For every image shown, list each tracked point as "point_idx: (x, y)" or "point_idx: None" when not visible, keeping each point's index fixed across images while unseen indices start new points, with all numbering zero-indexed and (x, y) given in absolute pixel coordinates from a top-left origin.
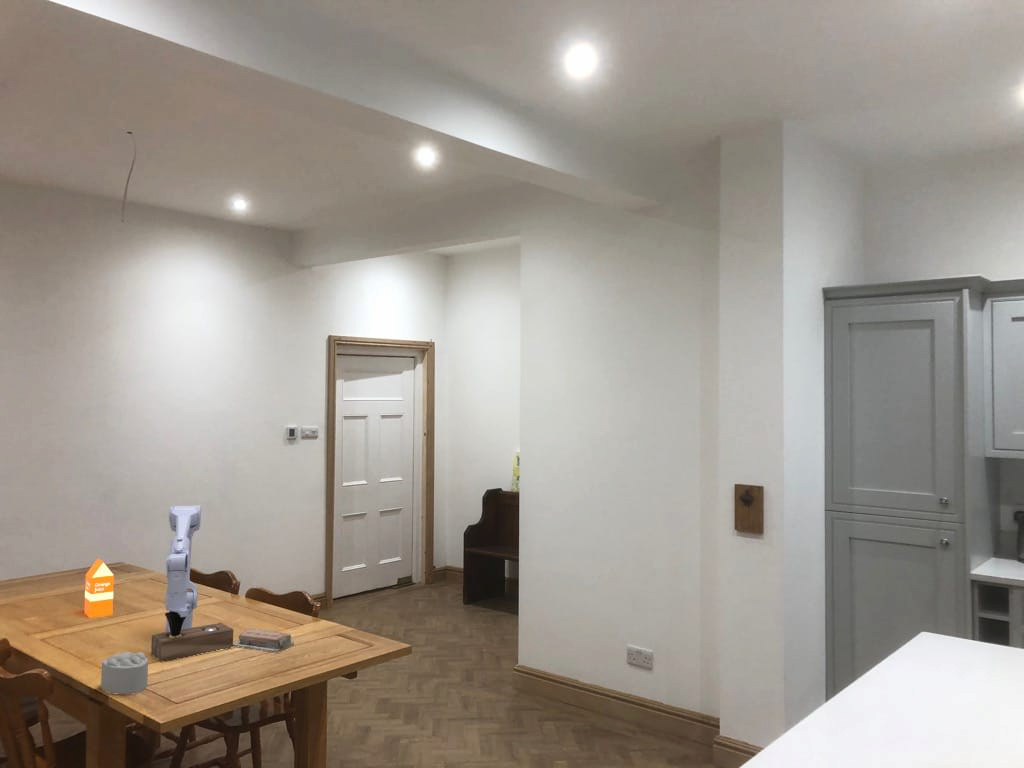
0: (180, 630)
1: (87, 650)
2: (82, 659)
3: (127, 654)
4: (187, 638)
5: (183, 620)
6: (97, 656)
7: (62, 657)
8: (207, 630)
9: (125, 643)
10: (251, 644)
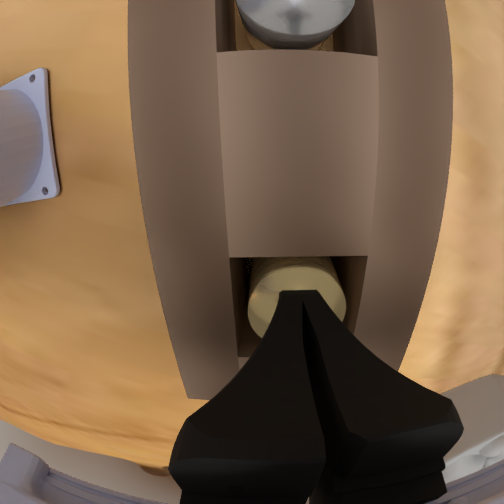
0: (330, 309)
1: (83, 410)
2: (161, 440)
3: (478, 469)
4: (429, 258)
5: (395, 376)
6: (147, 420)
7: (126, 447)
8: (336, 24)
9: (34, 334)
10: None
